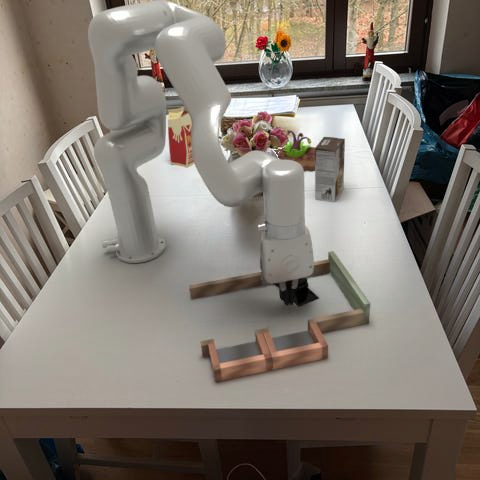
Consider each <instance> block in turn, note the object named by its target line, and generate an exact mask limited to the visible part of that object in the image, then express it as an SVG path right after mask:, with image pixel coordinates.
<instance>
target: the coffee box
mask: <svg viewBox="0 0 480 480" xmlns="http://www.w3.org/2000/svg"><path fill="white" fill-rule="evenodd" d="M345 141H346V138H339V137H334V136H323V137H322V139H321V140H320V141H319V142H318V144H317V145H316V146H315V147H316V148H315V171H314V182H315V183H314V199H315V201H316V200H317V201H325V202H332V203H336V202H337V200H338V198H339V197H340V195H341V194H342V192H343V190H344V186H345V185H344V180H345V147H346V142H345Z"/></svg>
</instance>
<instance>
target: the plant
mask: <svg viewBox="0 0 480 480" xmlns="http://www.w3.org/2000/svg"><path fill="white" fill-rule="evenodd" d="M285 132H286V134H287V135H286V134H285V135H286V136H290V134H291V135H292V137H293V138H292V139H293V141H289V142H288V143H289V144H288V143H286V144H287V145H286V146H285V147H284V148H282V149H278V150H274V149H273V150H274V151H275V152H276V154H277V155H278V158H279V159H281V160H292V161H296V162H298V163H299V164H300V165H301V166H302V167H303V169H304V173H306V172H312V173H313V172H315V148H316V146H315V147H313V146H312V139H310V138H309V137H307V136H304V133H302V132H299V133H298V135H297V136H296V134H295V133H294V131H293V130H290V129H289V130H286V131H285ZM304 139H306V140H307V145H304V143H305V142H304V141H303V140H304ZM279 151H280V154H278V152H279Z"/></svg>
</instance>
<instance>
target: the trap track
mask: <svg viewBox="0 0 480 480" xmlns="http://www.w3.org/2000/svg"><path fill="white" fill-rule="evenodd" d="M327 257H328V258H327V259H323V260H317V261H314V272H313V274H312V275H310V276H307V277H306V278H307V279H308V278H311V277H317V276H322V275H326V274H330V275H331V277H332V278H333V280H334V282H335V283H336V285H337V286H338V287H339V290H340V291H341V292H342V295H344V297H345V298H346V300H347V302H348V303H349V304H350V306H351V308H352V310H349V311H343V312H338V313H333V314H329V315H324V316H319V317H315V318H314V317H312V318H310V319H309V318H308V319H307V330H304V331H299V332H295V333H288V334H285V335H280V336H275V337H272V335H271V333H270V331H269V328H268V327H264V328H260V329H254V336H255V341H251V342H247V343H246V342H245V343H241V344H236V345H231V346H227V347H226V346H225V347H222V348H221V347H220V348H216V344H215V339H214V338H210V339H205V340H201V341H199V342H200V347H201V349H200V350H201V355H202V358H208V357H209V358H210V363H211V366H212V367H211V368H212V371H213V376H214V377H213V378H214V381H215V383H218V382H221V381H227V380H231V379H237V378H241V377H246V376H250V375H255V374H259V373H263V372H269V371H273V370H278V369H282V368H283V369H284V368H287V367H292V366H296V365H301V364H305V363H311V362H315V361H319V360H324V359H328V358H329V345H328V343H327V341H326V339H325V337H324V336H323V333H328V332H333V331H336V330H343V329H347V328H351V327H357V326H361V325H365V324H366V325H367V324H369V323H370V315H371V314H370V313H371V312H370V311H371V302H370V300H369V299H368V297H367V296H366V295H365V294H364V292H363V291H362V289H361V288H360V286H359V285H358V284H357V282H356V281H355V279H354V278H353V276H352V275H351V274H350V272H349V270H348V269H347V268H346V267H345V264H343V263H342V261H341V259H340V258H339V256H338V255H337V253H336V252H335V251H334V250H332V251H328V253H327ZM261 274H262V271H260V272H253V273H247V274H244V275H238V276H233V277H226V278H222V279H216V280H210V281H206V282H205V281H204V282H200V283H199V282H198V283H195V284H194V283H193V284H191V285H188V288H189V289H188V290H189V294H190V300H192V301H193V300H196V299H200V298H201V299H202V298H206V297H211V296H216V295H223V294H227V293H231V292H232V293H233V292H238V291H243V290H247V289H248V290H249V289H254V288H259V287H263V286H269V285H271V284H262V282H261V280H260V278H261ZM285 282H286V281H285Z"/></svg>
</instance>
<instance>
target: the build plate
mask: <svg viewBox="0 0 480 480" xmlns="http://www.w3.org/2000/svg"><path fill="white" fill-rule="evenodd" d="M285 283H286V282H285ZM317 300H320V297H319V296H318V295H317V294H316V293H314V291H313V290H311V289H310V288H309V282H308V277H307V278H306V277H305V278H303V279H302V280H301V281H300V282H299V283H298V285H297V288H295V298H293V305H295V306H296V307H298V308H300V307H302V306H306V305H307V304H310V303H312V302H315V301H317Z"/></svg>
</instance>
